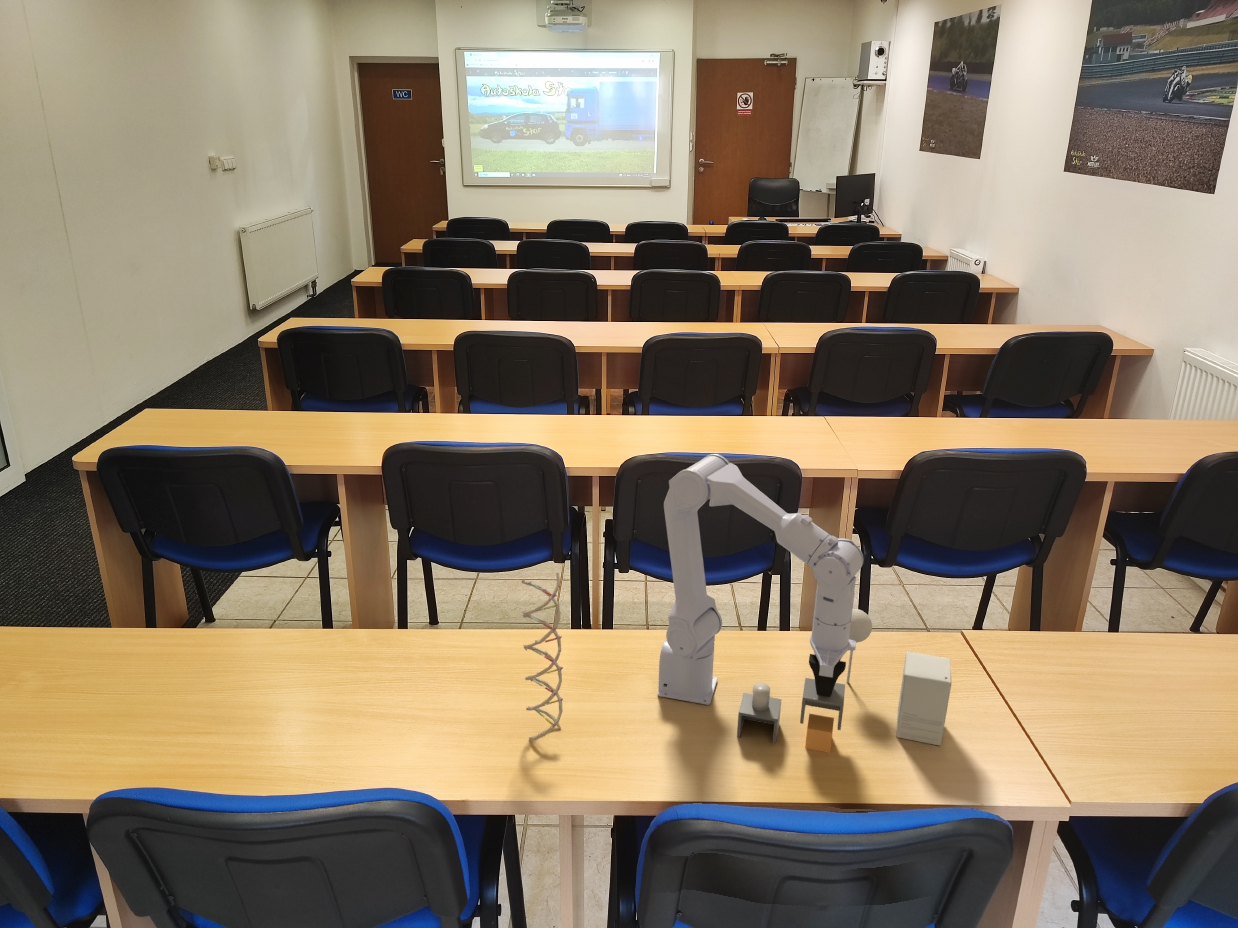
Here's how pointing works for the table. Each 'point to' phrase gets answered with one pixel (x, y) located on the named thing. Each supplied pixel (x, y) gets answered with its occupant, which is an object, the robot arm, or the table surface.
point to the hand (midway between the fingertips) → (824, 688)
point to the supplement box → (924, 698)
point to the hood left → (760, 708)
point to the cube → (819, 732)
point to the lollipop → (858, 631)
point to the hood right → (823, 699)
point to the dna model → (547, 656)
